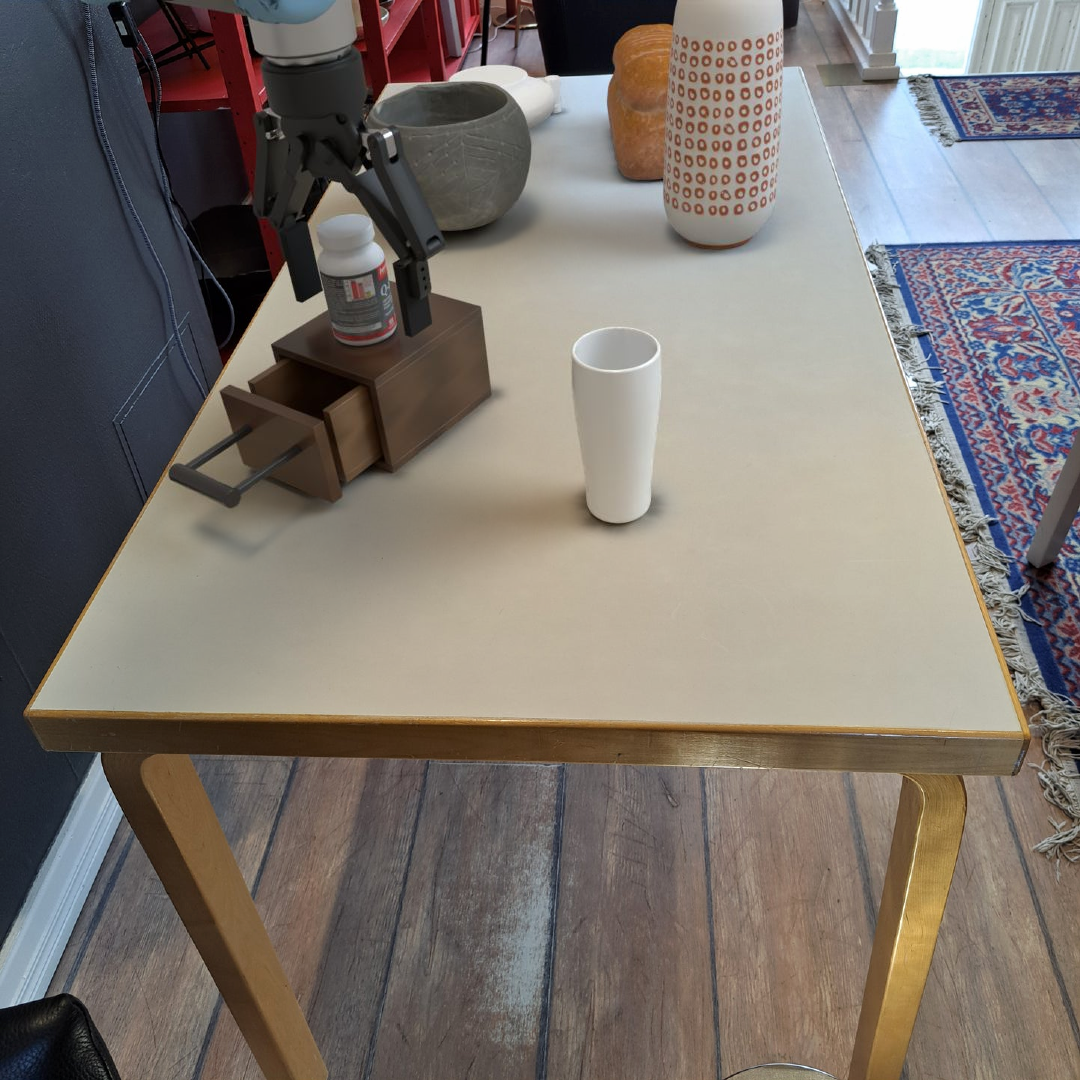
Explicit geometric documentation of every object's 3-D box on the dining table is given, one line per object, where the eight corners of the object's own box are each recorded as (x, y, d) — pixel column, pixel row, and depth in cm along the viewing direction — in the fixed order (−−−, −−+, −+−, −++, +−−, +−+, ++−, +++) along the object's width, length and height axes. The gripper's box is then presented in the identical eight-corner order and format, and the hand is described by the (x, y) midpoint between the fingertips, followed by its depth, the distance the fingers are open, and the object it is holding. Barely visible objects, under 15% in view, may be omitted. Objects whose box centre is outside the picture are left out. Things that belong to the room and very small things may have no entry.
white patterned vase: (751, 265, 114) (771, -7, 95) (645, 248, 119) (645, -12, 101) (787, 220, 122) (812, -38, 104) (686, 206, 128) (693, -41, 109)
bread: (691, 116, 154) (694, 8, 144) (714, 179, 134) (720, 59, 124) (605, 122, 154) (602, 16, 144) (615, 186, 134) (613, 67, 124)
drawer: (260, 560, 79) (234, 483, 73) (169, 514, 84) (139, 439, 79) (434, 425, 91) (422, 352, 86) (346, 393, 97) (329, 322, 92)
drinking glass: (615, 543, 78) (612, 382, 69) (561, 505, 83) (551, 348, 73) (676, 506, 81) (681, 347, 72) (621, 471, 86) (618, 316, 76)
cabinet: (393, 472, 88) (374, 380, 82) (295, 433, 94) (270, 344, 87) (491, 395, 96) (481, 306, 90) (396, 363, 102) (380, 277, 96)
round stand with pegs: (443, 161, 146) (436, 112, 141) (400, 116, 163) (393, 71, 159) (590, 131, 152) (589, 82, 147) (534, 90, 169) (531, 45, 164)
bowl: (520, 257, 119) (509, 131, 110) (356, 256, 123) (331, 133, 113) (548, 190, 135) (541, 74, 125) (402, 190, 139) (384, 77, 129)
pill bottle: (405, 338, 87) (386, 230, 80) (342, 354, 85) (318, 245, 79) (387, 311, 91) (368, 206, 84) (327, 325, 89) (303, 220, 83)
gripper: (469, 53, 69) (498, 325, 83) (236, 23, 81) (295, 266, 95) (399, 84, 65) (442, 366, 79) (162, 47, 76) (237, 299, 90)
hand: (362, 312), depth 87 cm, fingers open, 12 cm apart
